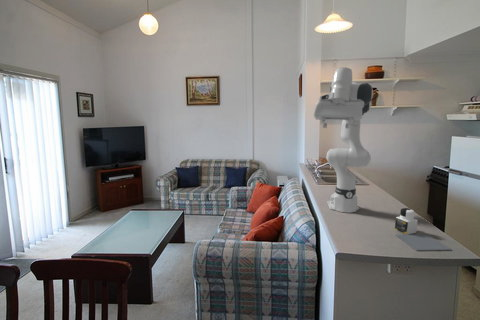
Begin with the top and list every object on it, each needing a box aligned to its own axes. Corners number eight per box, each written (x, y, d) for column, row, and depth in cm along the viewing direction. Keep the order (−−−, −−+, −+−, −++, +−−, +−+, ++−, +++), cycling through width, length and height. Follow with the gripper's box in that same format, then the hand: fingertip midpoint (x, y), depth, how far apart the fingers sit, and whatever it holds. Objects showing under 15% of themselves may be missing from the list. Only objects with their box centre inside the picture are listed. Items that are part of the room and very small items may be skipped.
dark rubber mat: (395, 235, 141) (395, 234, 141) (427, 235, 142) (427, 234, 142) (416, 250, 126) (416, 249, 125) (451, 250, 126) (451, 249, 126)
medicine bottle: (394, 229, 149) (396, 207, 147) (404, 227, 151) (406, 206, 149) (406, 235, 142) (408, 212, 140) (416, 233, 144) (419, 210, 142)
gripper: (364, 103, 124) (361, 131, 121) (317, 103, 134) (313, 130, 130) (364, 95, 119) (361, 124, 115) (315, 96, 128) (311, 124, 124)
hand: (335, 127), depth 122 cm, fingers open, 8 cm apart
